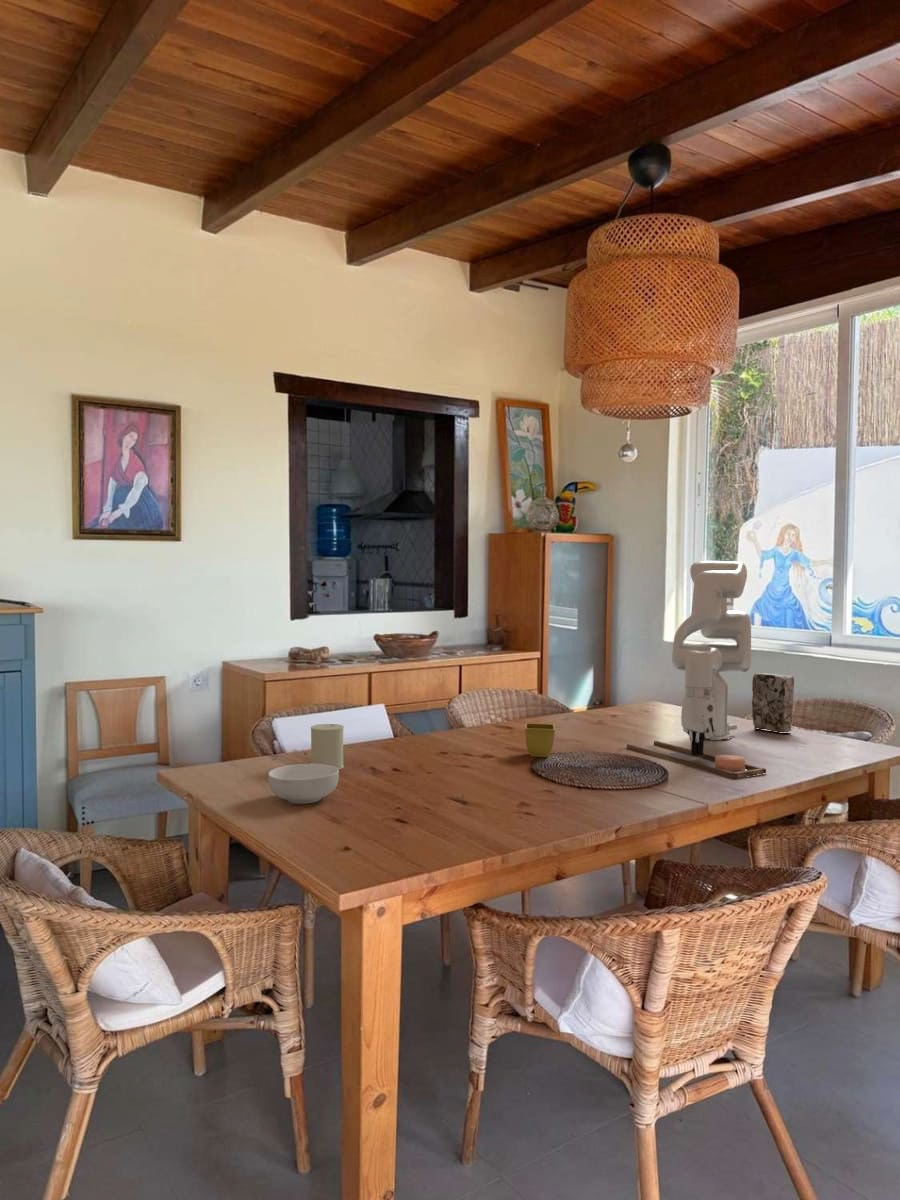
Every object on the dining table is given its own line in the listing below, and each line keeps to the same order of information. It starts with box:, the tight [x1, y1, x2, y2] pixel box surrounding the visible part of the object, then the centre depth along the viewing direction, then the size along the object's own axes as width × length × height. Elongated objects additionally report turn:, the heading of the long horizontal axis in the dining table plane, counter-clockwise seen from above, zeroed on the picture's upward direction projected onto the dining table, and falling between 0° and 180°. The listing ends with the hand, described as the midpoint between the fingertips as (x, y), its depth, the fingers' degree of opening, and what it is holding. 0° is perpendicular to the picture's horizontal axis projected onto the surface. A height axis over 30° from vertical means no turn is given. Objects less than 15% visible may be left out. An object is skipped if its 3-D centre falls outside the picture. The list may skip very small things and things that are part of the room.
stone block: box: [751, 672, 795, 732], centre depth 306 cm, size 13×7×20 cm, turn 42°
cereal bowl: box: [267, 763, 340, 805], centre depth 214 cm, size 17×17×7 cm
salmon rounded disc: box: [714, 754, 746, 772], centre depth 247 cm, size 8×8×4 cm
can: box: [310, 723, 345, 771], centre depth 247 cm, size 9×9×12 cm
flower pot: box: [524, 722, 556, 758], centre depth 265 cm, size 9×9×9 cm
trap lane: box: [626, 740, 767, 780], centre depth 259 cm, size 12×44×2 cm, turn 29°
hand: (697, 754), depth 258 cm, fingers closed
